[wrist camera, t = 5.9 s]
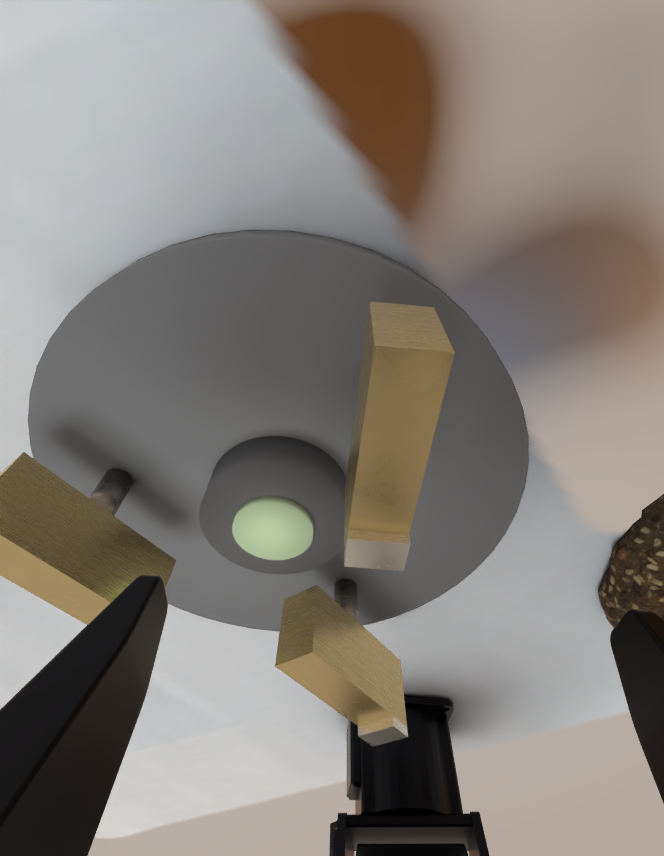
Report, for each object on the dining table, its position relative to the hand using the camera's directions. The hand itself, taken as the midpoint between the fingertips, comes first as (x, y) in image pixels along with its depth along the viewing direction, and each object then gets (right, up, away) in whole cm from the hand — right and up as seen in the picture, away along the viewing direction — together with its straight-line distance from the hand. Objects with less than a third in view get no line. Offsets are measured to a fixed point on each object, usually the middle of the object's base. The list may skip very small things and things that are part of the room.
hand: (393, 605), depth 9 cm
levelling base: (-3, +1, +12) cm, 13 cm away
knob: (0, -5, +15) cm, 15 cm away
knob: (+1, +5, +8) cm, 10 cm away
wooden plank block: (-10, +1, +11) cm, 15 cm away
